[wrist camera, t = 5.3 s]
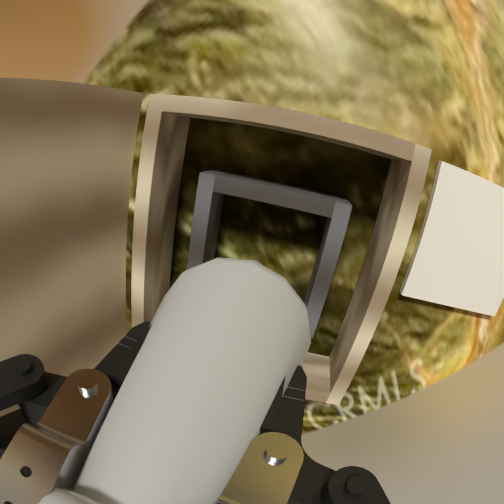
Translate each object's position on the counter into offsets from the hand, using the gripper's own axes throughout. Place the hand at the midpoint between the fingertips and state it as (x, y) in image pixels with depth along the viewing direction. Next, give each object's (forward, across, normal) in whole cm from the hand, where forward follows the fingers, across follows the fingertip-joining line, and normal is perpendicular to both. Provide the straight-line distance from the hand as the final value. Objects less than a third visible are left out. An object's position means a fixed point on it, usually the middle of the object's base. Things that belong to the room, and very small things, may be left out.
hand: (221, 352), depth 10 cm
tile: (+13, -15, -4) cm, 20 cm away
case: (+12, +1, +1) cm, 13 cm away
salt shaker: (+4, 0, 0) cm, 4 cm away
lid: (-1, +11, 0) cm, 11 cm away
